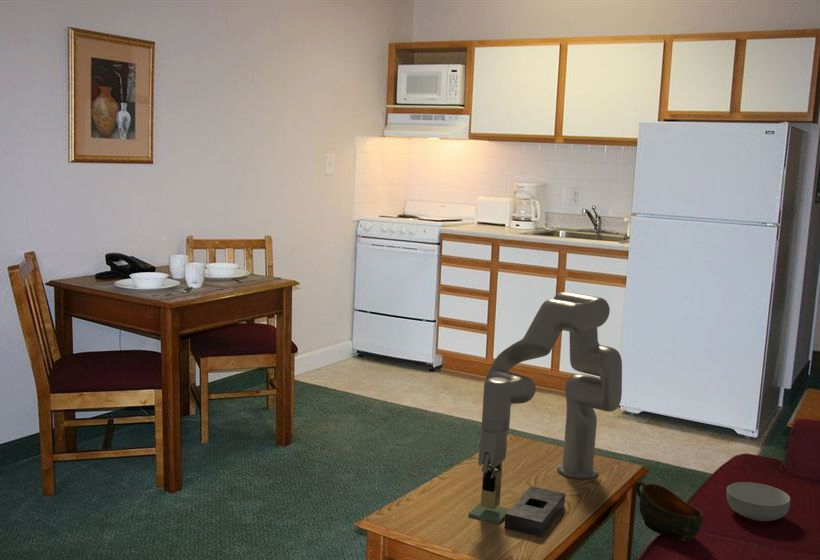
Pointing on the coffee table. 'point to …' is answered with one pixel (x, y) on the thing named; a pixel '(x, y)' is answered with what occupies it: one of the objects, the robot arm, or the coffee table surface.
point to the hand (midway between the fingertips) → (491, 487)
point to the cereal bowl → (758, 501)
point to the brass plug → (492, 498)
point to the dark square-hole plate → (535, 511)
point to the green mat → (488, 513)
